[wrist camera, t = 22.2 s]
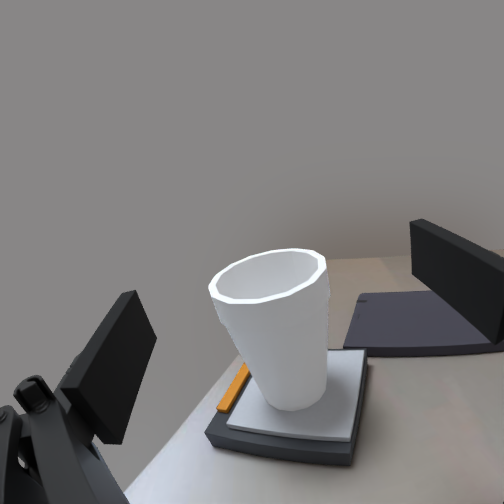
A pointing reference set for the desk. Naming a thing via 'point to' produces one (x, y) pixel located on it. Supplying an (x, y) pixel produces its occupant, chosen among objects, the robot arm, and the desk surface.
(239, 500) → the desk surface
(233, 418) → the scale
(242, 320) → the foam cup
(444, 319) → the notebook
